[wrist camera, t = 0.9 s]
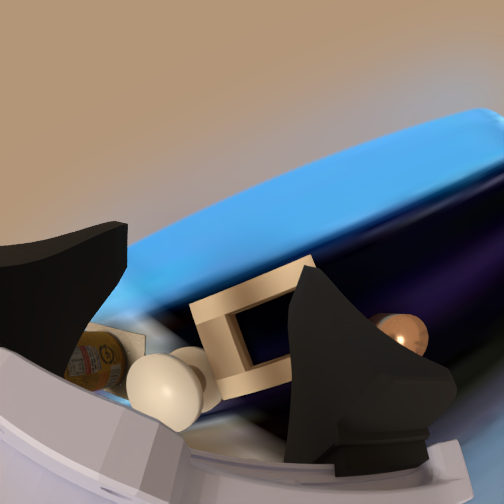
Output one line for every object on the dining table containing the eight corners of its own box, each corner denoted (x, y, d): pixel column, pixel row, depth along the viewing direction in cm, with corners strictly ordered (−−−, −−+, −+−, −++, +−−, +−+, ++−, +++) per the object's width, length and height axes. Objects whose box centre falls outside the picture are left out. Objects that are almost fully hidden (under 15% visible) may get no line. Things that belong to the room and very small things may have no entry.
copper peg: (405, 325, 20) (437, 331, 13) (384, 357, 20) (407, 376, 13) (377, 305, 21) (399, 304, 14) (355, 337, 21) (368, 350, 14)
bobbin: (240, 376, 22) (214, 396, 16) (203, 421, 22) (170, 447, 16) (188, 332, 24) (149, 337, 18) (155, 379, 24) (115, 391, 18)
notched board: (312, 260, 23) (310, 254, 20) (348, 352, 20) (351, 358, 18) (202, 305, 24) (189, 304, 22) (233, 392, 22) (223, 400, 20)
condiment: (88, 321, 27) (-2, 316, 16) (146, 335, 25) (45, 340, 14) (87, 382, 26) (2, 395, 15) (144, 404, 24) (53, 438, 12)
